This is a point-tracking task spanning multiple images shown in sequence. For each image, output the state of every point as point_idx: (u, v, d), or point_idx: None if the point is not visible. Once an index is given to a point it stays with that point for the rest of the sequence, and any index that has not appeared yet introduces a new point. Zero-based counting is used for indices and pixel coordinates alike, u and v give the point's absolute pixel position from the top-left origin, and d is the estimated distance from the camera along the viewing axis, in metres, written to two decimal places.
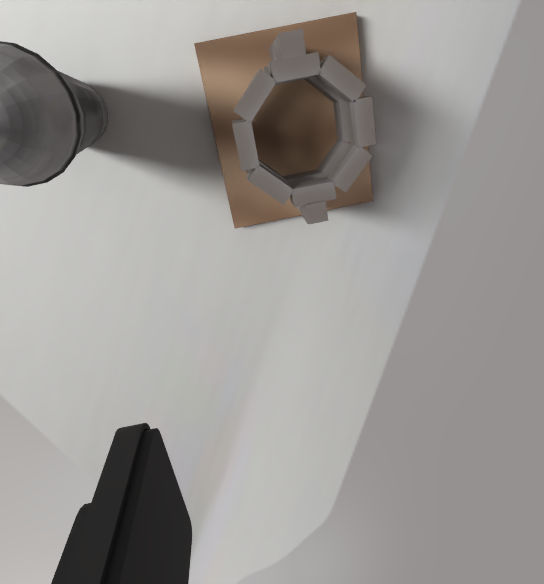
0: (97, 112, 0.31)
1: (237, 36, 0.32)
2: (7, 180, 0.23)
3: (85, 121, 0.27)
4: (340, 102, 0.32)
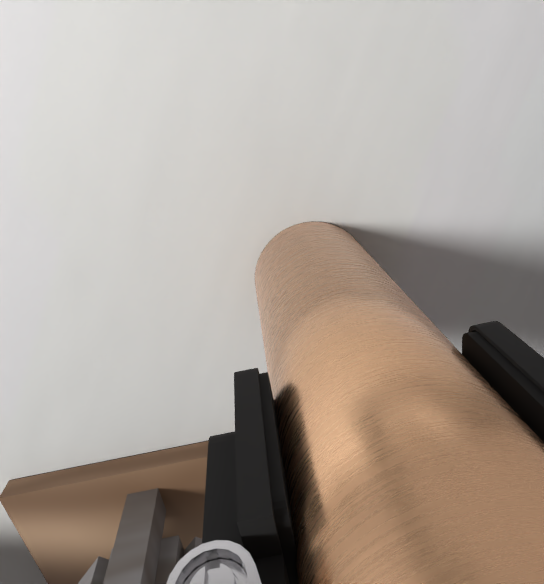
0: None
1: (71, 485, 0.19)
2: None
3: None
4: None
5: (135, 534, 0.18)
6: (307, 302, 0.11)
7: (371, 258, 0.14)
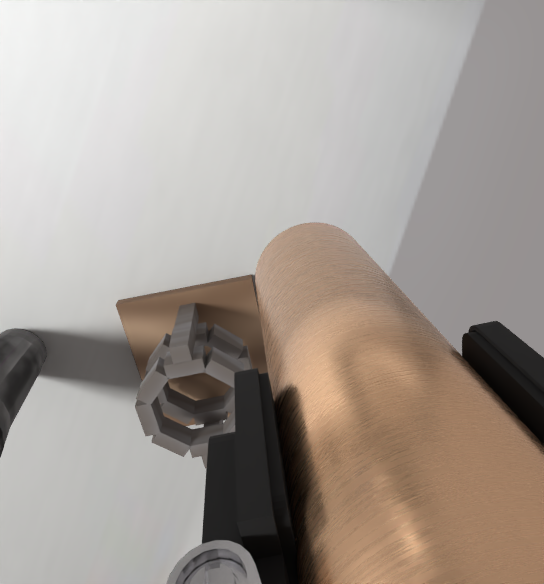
0: (31, 374, 0.37)
1: (152, 298, 0.39)
2: None
3: (14, 409, 0.33)
4: None
5: (186, 314, 0.37)
6: (307, 303, 0.11)
7: (371, 259, 0.14)
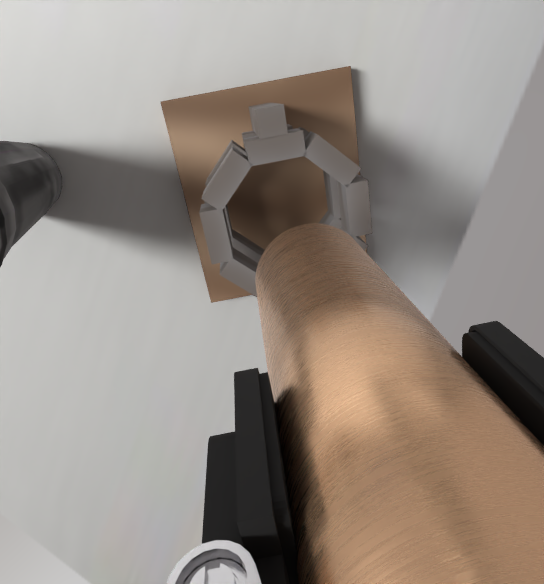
0: (43, 187, 0.26)
1: (211, 93, 0.28)
2: None
3: (20, 211, 0.22)
4: None
5: (263, 104, 0.26)
6: (308, 305, 0.11)
7: (372, 260, 0.14)
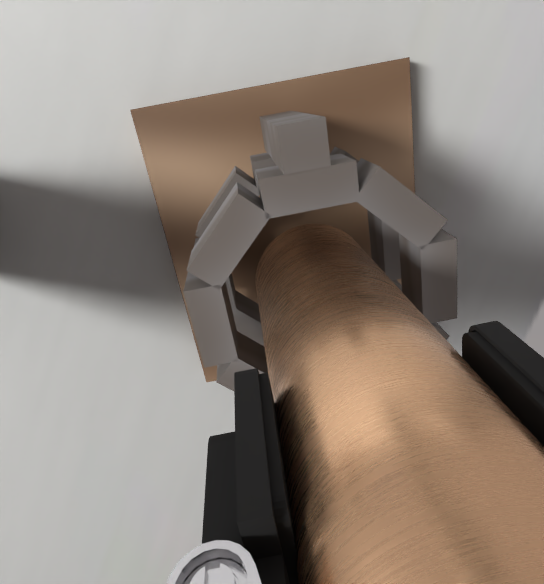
0: None
1: (205, 98, 0.19)
2: None
3: None
4: None
5: (283, 114, 0.17)
6: (308, 304, 0.11)
7: (372, 260, 0.14)
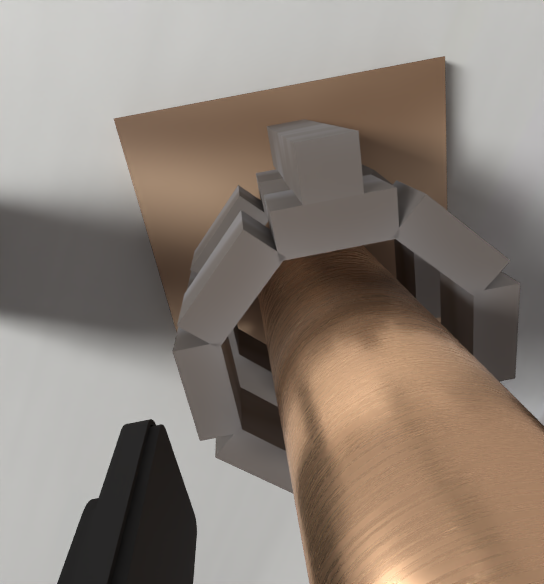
0: None
1: (202, 104, 0.16)
2: None
3: None
4: None
5: (296, 125, 0.14)
6: (305, 285, 0.12)
7: (364, 248, 0.15)
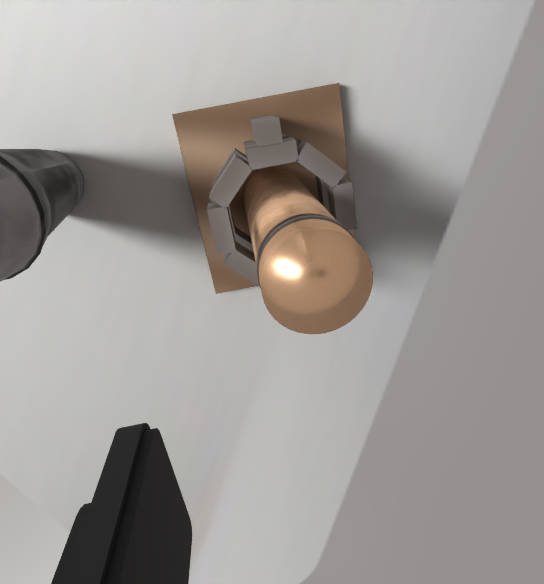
0: (70, 189, 0.30)
1: (216, 107, 0.32)
2: None
3: (54, 208, 0.26)
4: None
5: (262, 117, 0.30)
6: (262, 187, 0.28)
7: (296, 178, 0.31)
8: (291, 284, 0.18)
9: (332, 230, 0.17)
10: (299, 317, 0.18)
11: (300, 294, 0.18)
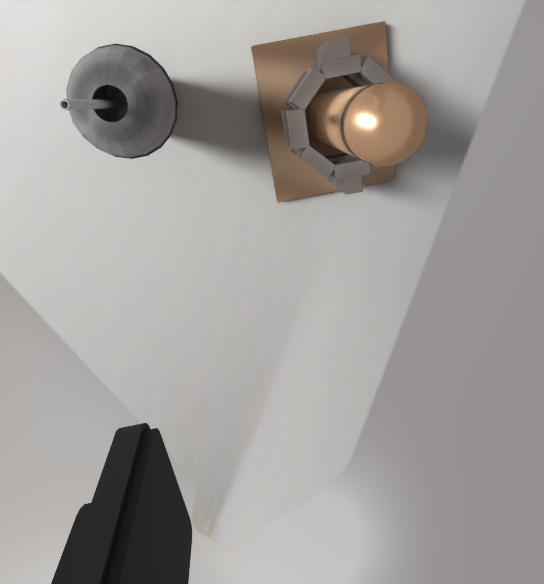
0: None
1: (287, 40, 0.39)
2: (125, 151, 0.30)
3: None
4: None
5: None
6: (329, 94, 0.35)
7: None
8: (370, 125, 0.25)
9: (401, 84, 0.25)
10: (374, 152, 0.26)
11: (377, 133, 0.26)
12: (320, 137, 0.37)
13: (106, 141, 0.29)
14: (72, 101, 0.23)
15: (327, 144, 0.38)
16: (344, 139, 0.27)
